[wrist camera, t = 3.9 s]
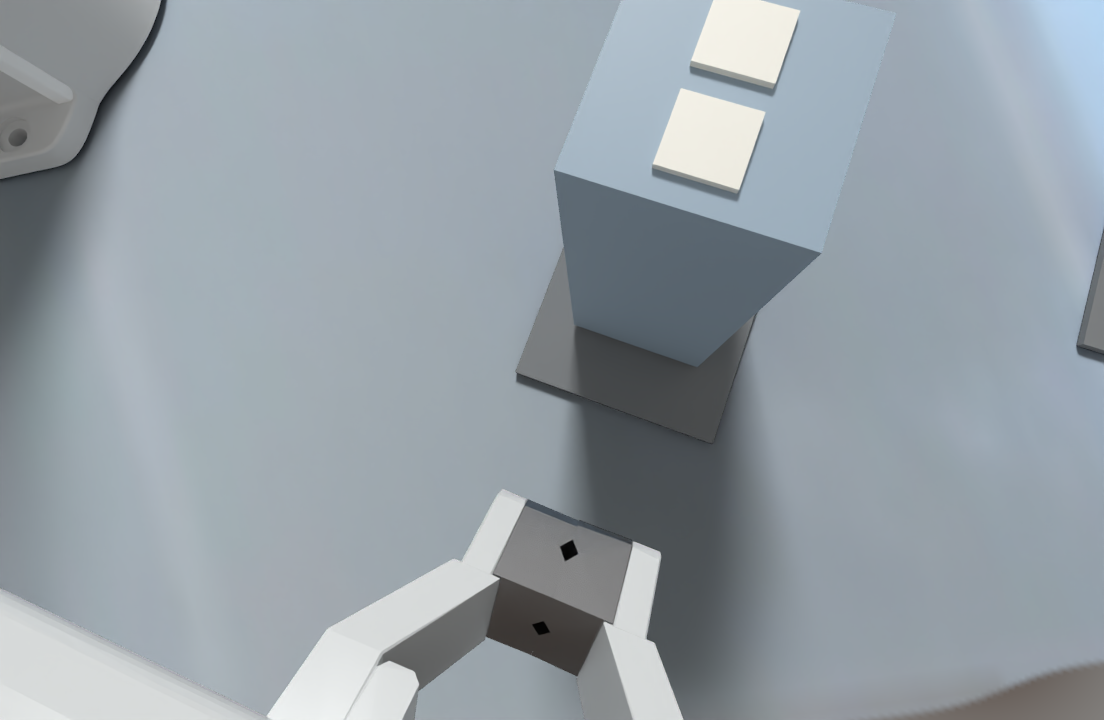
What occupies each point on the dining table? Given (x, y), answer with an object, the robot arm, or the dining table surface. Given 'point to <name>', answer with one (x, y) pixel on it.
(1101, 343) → the grey rectangular plate
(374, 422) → the dining table surface
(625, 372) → the grey flat block
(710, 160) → the rectangular block
